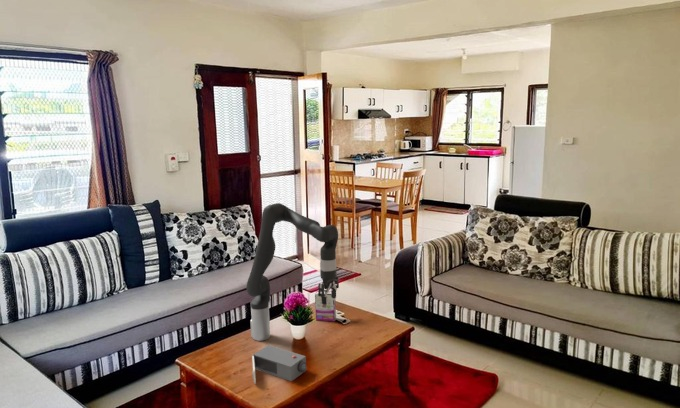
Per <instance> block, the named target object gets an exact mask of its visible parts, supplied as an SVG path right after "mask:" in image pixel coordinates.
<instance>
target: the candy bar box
mask: <svg viewBox="0 0 680 408" xmlns="http://www.w3.org/2000/svg"><path fill="white" fill-rule="evenodd" d="M324 294H325V292H324ZM326 299H327V304H322V297H321V296H318V290H316V291H315V293H314V302H315V303H314V304H315V321H316V322H318V321H319V322H335V321H336V319H337V308H336V307H337V306H336V305H337V304H336V302H337V301H336V299H337V298H332V297H331V290H329V292H328V293H327V295H326ZM335 318H336V319H335Z"/></svg>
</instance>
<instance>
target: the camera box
mask: <svg viewBox="0 0 680 408" xmlns="http://www.w3.org/2000/svg"><path fill="white" fill-rule="evenodd" d="M252 355H254V364H255V370H257V371H259V372H263V373H266V374H268V375H272V376H274V377H278V378H279V379H283V380H286V381H288V382H293V381H295V379H297V378H298V377H299V376H301V375H302V374H303V373H305V372H306V371H307V366H308V365H307V357H306V355H303V354H300V353H296V352H293V351H290V350H287V349H283V348H280V347H276V346H273V345H270V344H268V345H266V346H264V347H263V348H261V349H260V350H258V351H257V352H255V353H253V354H252Z"/></svg>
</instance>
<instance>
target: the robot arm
mask: <svg viewBox="0 0 680 408" xmlns="http://www.w3.org/2000/svg"><path fill="white" fill-rule="evenodd" d="M260 221H261V224H260V231H259V234H258V235H259V236H258V240H257V244H256V247H255V248H256V249H255V254H254V258H253V262H252V267H251V270H250V274H249V277H248V279H247V282H246V292H247V294H248V295H249V296H250V297H252V298H253V297H254V298H253V299H252V300H251V302H250V312H251V314H250V316H251V319H250V320H249V321H250V322H249V323H250V336H251V337H250V338H252V339H253V340H254V341H258V342H260V341H261V342H262V341H263V342H264V341H265V340H269V339H270V338H271V327H270V305H269V303H270V300H271V285H270V280H269V279H268V277H267V276H265V275H264V274H265V272H266V270H267V269H268V267H270V264H271V263H272V261H273V259H274V255H275V252H276V242H275V239H274V234H273V233H274V230H275V225H276V223H281V222H287V223H290V224H292V225H293V226H294V227H295V228H296V229H297V230H299V231H301V232H302V233H304V234H308V235H309V236H311V237H312V238H313V239H316V240H317V241H318V242H320V243H324V244H323V245H322V246H321V248H320V251H319V252H320V253H319V254H320V262H319V268H320V269H319V271H320V272H319V273H320V275H319V277H320V279H321V280H322V282H321V283H318V290H317V291H318V296H321V297H322V304H327V299H326V295H327V293H328V292H329V291H331V297H332V298H335V299H337V291H338V289H339V288H340V287H339V276H338V275H337V274H338V273H337V259H336V258H337V257H336V256H337V255H336V253H337V251H336V250H337V249H336V248H337V245H338V240H339V231H338V228H337V227H336V225H334V224H328V225H325V226H321V223H320V222H319V221H317V220H315V219H312V218H309V217H307V216H304V215H301V214H300V213H298V212H296V211H294V210H293V209H291V208H289V207H288V206H286V205H284V204H283V203H278V202H276V203H273V204H269V205H266V206H265V207H264V208H263V210H262V215H261V220H260ZM324 292H325V294H324Z"/></svg>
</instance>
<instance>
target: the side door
mask: <svg viewBox="0 0 680 408" xmlns="http://www.w3.org/2000/svg"><path fill="white" fill-rule="evenodd" d="M251 362H252V381H253V384H255V385H256V384H257V382H256V381H257V380H256V369H255V364H254V355H253V354H251Z"/></svg>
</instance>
